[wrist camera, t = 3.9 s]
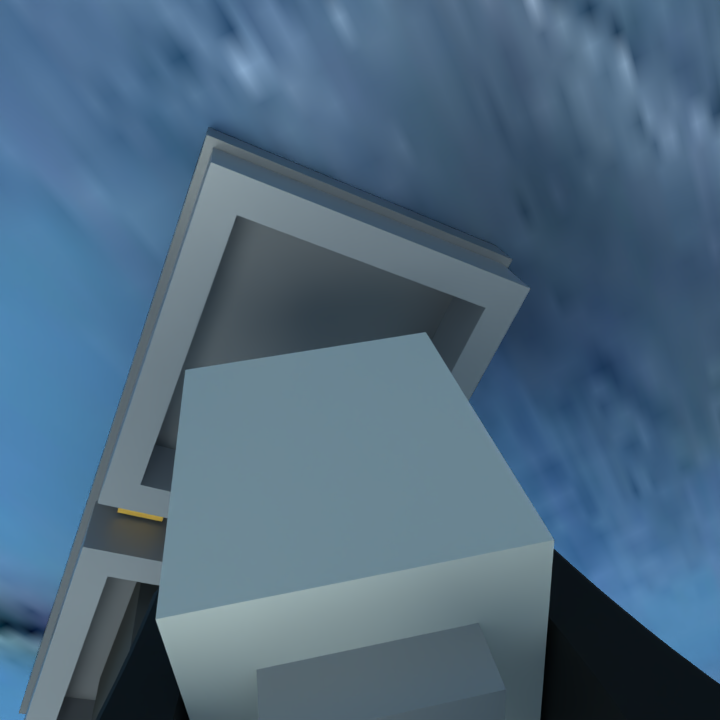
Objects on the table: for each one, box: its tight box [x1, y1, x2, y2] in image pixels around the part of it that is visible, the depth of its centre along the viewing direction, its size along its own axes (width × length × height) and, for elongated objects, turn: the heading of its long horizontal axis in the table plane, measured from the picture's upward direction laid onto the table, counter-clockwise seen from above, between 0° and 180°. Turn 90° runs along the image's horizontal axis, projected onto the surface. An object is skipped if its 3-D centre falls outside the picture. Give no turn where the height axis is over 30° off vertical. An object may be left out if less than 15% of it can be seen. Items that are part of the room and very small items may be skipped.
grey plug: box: [156, 332, 554, 720], centre depth 9 cm, size 4×5×6 cm
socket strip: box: [19, 128, 530, 720], centre depth 19 cm, size 8×19×3 cm, turn 156°
